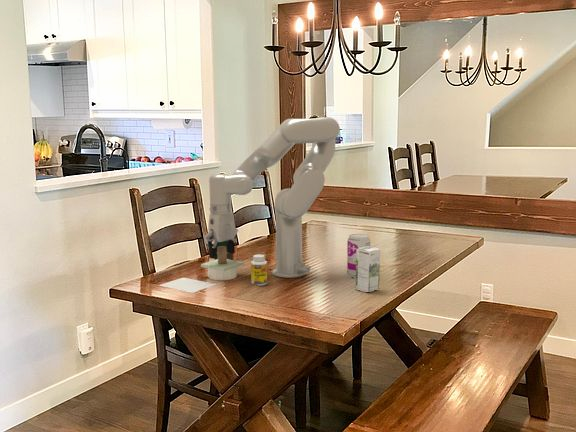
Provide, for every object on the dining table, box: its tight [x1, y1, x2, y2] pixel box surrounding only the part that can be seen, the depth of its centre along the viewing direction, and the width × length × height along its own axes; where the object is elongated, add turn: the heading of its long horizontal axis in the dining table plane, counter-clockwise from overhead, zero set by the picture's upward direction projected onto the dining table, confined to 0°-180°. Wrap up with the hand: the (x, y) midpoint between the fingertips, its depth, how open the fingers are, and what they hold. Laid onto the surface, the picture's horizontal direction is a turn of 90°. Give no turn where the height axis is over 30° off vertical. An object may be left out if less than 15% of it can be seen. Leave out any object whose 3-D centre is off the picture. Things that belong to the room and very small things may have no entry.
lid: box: [200, 246, 245, 271], centre depth 222 cm, size 11×11×7 cm
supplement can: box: [346, 233, 371, 279], centre depth 222 cm, size 8×8×15 cm
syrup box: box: [355, 245, 381, 293], centre depth 205 cm, size 6×6×14 cm
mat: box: [158, 277, 217, 294], centre depth 213 cm, size 16×12×1 cm
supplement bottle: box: [250, 254, 268, 287], centre depth 214 cm, size 6×6×10 cm
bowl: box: [207, 267, 238, 281], centre depth 223 cm, size 10×10×4 cm
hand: (222, 255), depth 222 cm, fingers open, 9 cm apart
